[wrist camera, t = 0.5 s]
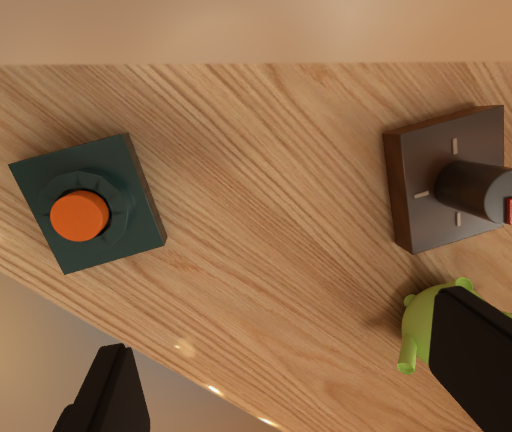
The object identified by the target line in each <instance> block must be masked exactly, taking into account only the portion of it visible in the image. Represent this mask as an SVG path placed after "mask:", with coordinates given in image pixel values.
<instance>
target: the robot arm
mask: <svg viewBox="0 0 512 432" xmlns="http://www.w3.org/2000/svg"><path fill="white" fill-rule="evenodd" d="M428 364H429V368H430V370H431V372H432V374H433V375H434V376H435V377H436V379H437V380H438V381H439V382H440V383H441V384H442V385H443V386H444V388H445V389H446V390H447V391H448V392H449V393H450V394H451V395H452V397H453V398H454V399H455V400H456V401H457V402H458V403H459V404H460V406H461V407H462V408H463V409H464V410H465V411H466V412H467V413H468V415H469V416H470V417H471V418H472V419H473V420H474V421H475V422H476V424H477V425H478V426H479V427H480V428H481V429H482V430H483V431H484V432H512V318H510V317H509V316H507V315H506V314H504V313H502V312H501V311H499V310H498V309H496V308H495V307H493V306H492V305H490V304H489V303H487V302H486V301H484V300H482V299H481V298H479V297H478V296H476V295H475V294H473V293H472V292H470V291H469V290H467V289H466V288H464V287H462V286H453V287H447V288H442V289H440V290H439V291H438V294H436V295H435V298H434V307H433V318H432V328H431V339H430V349H429V360H428ZM53 432H150V418H149V414H148V410H147V406H146V402H145V398H144V394H143V390H142V386H141V382H140V378H139V375H138V371H137V367H136V363H135V359H134V355H133V351H132V349H131V347H128V348H125V345H124V344H123V343H119V344H114V345H108V346H102V347H100V349H99V350H98V353H97V355H96V357H95V359H94V361H93V363H92V365H91V367H90V370H89V372H88V374H87V376H86V378H85V380H84V382H83V384H82V386H81V388H80V391H79V393H78V395H77V397H76V399H75V401H74V404H71V405H68V406H67V407H66V408H65V409H64V410H63V412H62V414H61V416H60V418H59V420H58V422H57V424H56V426H55V428H54V430H53Z"/></svg>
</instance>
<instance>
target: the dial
mask: <svg viewBox="0 0 512 432" xmlns="http://www.w3.org/2000/svg"><path fill="white" fill-rule="evenodd" d="M435 192H436V196H437V198H438V200H439V201H440V202H441V203H442V204H443V205H445V206H448V207H451V208H454V209H456V210H459V211H462V212H465V213H468V214H471V215H473V216H476V217H479V218H482V219H485V220H488V221H490V222H493V223H496V224H509V225H511V224H512V168H509V167H503V166H496V165H490V164H483V163H476V162H470V161H456V162H453V163H451V164H449V165H448V166H446V167H445V168H444V169H443V170H442V172H441V173H440V174H439V176H438V178H437V181H436V186H435Z"/></svg>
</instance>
